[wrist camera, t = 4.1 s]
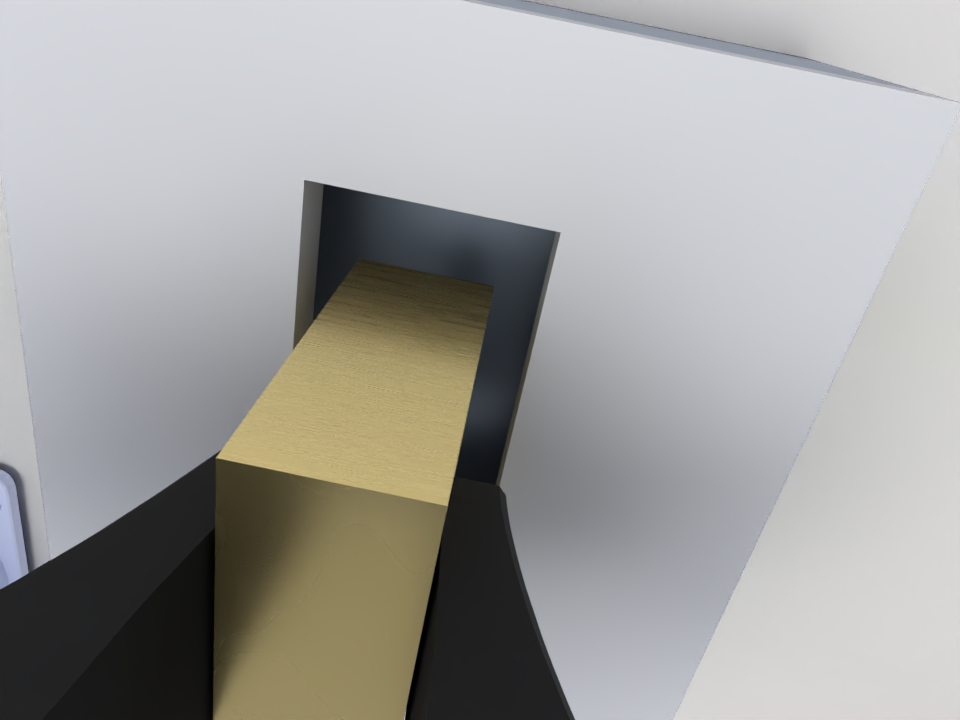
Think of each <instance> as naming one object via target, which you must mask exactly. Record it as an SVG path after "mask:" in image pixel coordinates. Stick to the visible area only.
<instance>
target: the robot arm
mask: <svg viewBox="0 0 960 720" xmlns="http://www.w3.org/2000/svg"><path fill="white" fill-rule="evenodd" d="M220 452H221V450H220V451H219V452H217V453H216V454H214V455H213V456H211V457H210V458H208V459H207V460H206V461H204V462H203V463H201V464H200V465H198V466H197V467H195V468H194V469H192V470H191V471H190V472H188V473H187V474H185V475H184V476H182V477H181V478H179V479H178V480H176V481H175V482H173V483H172V484H170V485H169V486H168V487H166V488H165V489H163V490H162V491H160V492H159V493H157V494H156V495H154V496H153V497H151V498H150V499H148V500H146V501H145V502H143V503H142V504H140V505H139V506H137V507H136V508H134V509H133V510H131V511H129V512H128V513H126V514H125V515H123V516H122V517H120V518H119V519H117V520H116V521H114V522H113V523H111V524H109V525H108V526H106V527H105V528H103V529H102V530H100V531H98V532H97V533H95V534H94V535H92V536H90V537H89V538H87V539H86V540H84V541H82V542H81V543H79V544H77V545H75V546H74V547H72V548H70V549H69V550H67V551H65V552H64V553H62V554H60V555H58V556H57V557H55V558H53V559H52V560H50V561H48V562H47V563H45V564H43V565H42V566H40V567H38V568H36V569H35V570H33V571H31V572H30V573H29V572H28V565H27V559H26V552H25V545H24V539H23V532H22V525H21V519H20V512H19V505H18V499H17V492H16V486H15V483H14V480H13V479H12V477H11V476H10V475H9V474H8V473H6V472H5V471H3V470H0V720H213V686H214V592H215V499H216V457H217V456H218V454H219V453H220ZM405 720H575V718H574V716H573V713H572V711H571V709H570V706H569V704H568V702H567V699H566V697H565V694H564V692H563V689H562V687H561V684H560V682H559V679H558V677H557V674H556V672H555V669H554V667H553V664H552V662H551V659H550V656H549V654H548V651H547V648H546V646H545V643H544V640H543V637H542V635H541V632H540V629H539V626H538V622H537V619H536V616H535V613H534V610H533V607H532V604H531V601H530V598H529V595H528V592H527V589H526V586H525V582H524V579H523V575H522V572H521V568H520V565H519V561H518V557H517V553H516V549H515V545H514V541H513V536H512V532H511V527H510V522H509V516H508V509H507V501H506V495H505V493H504V492H503V490H502V489H501V487H500V486H497V485H492V484H487V483H483V482H478V481H473V480H468V479H463V478H458V477H454V480H453V485H452V490H451V494H450V499H449V504H448V508H447V513H446V518H445V523H444V527H443V532H442V537H441V541H440V546H439V551H438V556H437V561H436V566H435V571H434V575H433V580H432V585H431V590H430V595H429V600H428V605H427V609H426V614H425V619H424V624H423V629H422V634H421V639H420V643H419V648H418V653H417V658H416V663H415V668H414V673H413V677H412V682H411V687H410V692H409V697H408V702H407V707H406V716H405Z"/></svg>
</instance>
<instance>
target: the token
mask: <svg viewBox="0 0 960 720" xmlns="http://www.w3.org/2000/svg"><path fill="white" fill-rule="evenodd" d="M493 289H494V286H491V285H486V284H481V283H476V282H471V281H466V280H462V279H457V278H452V277H447V276H442V275H438V274H433V273H428V272H423V271H418V270H414V269H409V268H404V267H399V266H394V265H389V264H385V263H380V262H375V261H370V260H365V259H361V258H359V259H358V261H357V262H356V263H355V265H354V266H353V268H352V269H351V270H350V272H349V273H348V275H347V276H346V277H345V279H344V280H343V282H342V283H341V284H340V286H339V287H338V289H337V290H336V291H335V293H334V294H333V295H332V297H331V298H330V300H329V301H328V302H327V304H326V305H325V307H324V308H323V309H322V311H321V312H320V314H319V315H318V316H317V318H316V319H315V321H314V322H313V323H312V325H311V326H310V328H309V329H308V330H307V332H306V333H305V335H304V336H303V337H302V339H301V340H300V341H299V343H298V344H297V346H296V347H295V348H294V350H293V351H292V353H291V354H290V355H289V357H288V358H287V360H286V361H285V362H284V364H283V365H282V367H281V368H280V369H279V371H278V372H277V374H276V375H275V376H274V378H273V379H272V381H271V382H270V383H269V385H268V386H267V388H266V389H265V390H264V392H263V393H262V394H261V396H260V397H259V399H258V400H257V401H256V403H255V404H254V406H253V407H252V408H251V410H250V411H249V413H248V414H247V415H246V417H245V418H244V420H243V421H242V422H241V424H240V425H239V427H238V428H237V429H236V431H235V432H234V434H233V435H232V436H231V438H230V439H229V440H228V442H227V443H226V445H225V446H224V447H223V449H222V450H221V452H220V453H219V454H218V456H217V457H216V499H215V592H214V686H213V720H404V717H405V712H406V707H407V702H408V697H409V692H410V687H411V682H412V677H413V673H414V668H415V663H416V658H417V653H418V648H419V643H420V639H421V634H422V629H423V624H424V619H425V614H426V609H427V605H428V600H429V595H430V590H431V585H432V580H433V575H434V571H435V566H436V561H437V556H438V551H439V546H440V541H441V537H442V532H443V527H444V523H445V518H446V513H447V508H448V504H449V499H450V494H451V490H452V485H453V480H454V477H455V473H456V468H457V463H458V459H459V454H460V449H461V444H462V439H463V434H464V430H465V425H466V420H467V415H468V410H469V405H470V401H471V396H472V391H473V386H474V381H475V376H476V372H477V367H478V362H479V357H480V352H481V347H482V343H483V338H484V333H485V328H486V323H487V318H488V314H489V309H490V304H491V299H492V294H493Z"/></svg>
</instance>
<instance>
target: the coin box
mask: <svg viewBox="0 0 960 720" xmlns="http://www.w3.org/2000/svg"><path fill="white" fill-rule="evenodd" d="M959 112H960V102H956V101H953V100H949V99H946V98H942V97H939V96H936V95H932V94H929V93H925V92H922V91H918V90H915V89H911V88H908V87H904V86H901V85H897V84H894V83H891V82H887V81H884V80H880V79H877V78H873V77H870V76H866V75H863V74H859V73H856V72H852V71H849V70H846V69H842V68H839V67H835V66H832V65H828V64H825V63H821V62H818V61H814V60H811V59H807V58H802V57H798V56H793V55H788V54H783V53H778V52H773V51H768V50H763V49H759V48H754V47H749V46H744V45H739V44H734V43H729V42H724V41H720V40H715V39H710V38H705V37H700V36H695V35H690V34H685V33H681V32H676V31H671V30H666V29H661V28H656V27H651V26H646V25H642V24H637V23H632V22H627V21H622V20H617V19H612V18H608V17H603V16H598V15H593V14H588V13H583V12H578V11H573V10H569V9H564V8H559V7H554V6H549V5H544V4H539V3H534V2H530V1H525V0H0V175H1V182H2V190H3V198H4V206H5V213H6V221H7V229H8V236H9V244H10V252H11V260H12V267H13V275H14V283H15V291H16V298H17V306H18V314H19V322H20V329H21V337H22V345H23V352H24V360H25V368H26V376H27V383H28V391H29V399H30V407H31V414H32V422H33V430H34V438H35V445H36V453H37V461H38V469H39V476H40V484H41V492H42V499H43V507H44V515H45V523H46V530H47V538H48V546H49V554H50V560H52V559H53V558H55V557H57V556H58V555H60V554H62V553H64V552H65V551H67V550H69V549H70V548H72V547H74V546H75V545H77V544H79V543H81V542H82V541H84V540H86V539H87V538H89V537H90V536H92V535H94V534H95V533H97V532H98V531H100V530H102V529H103V528H105V527H106V526H108V525H109V524H111V523H113V522H114V521H116V520H117V519H119V518H120V517H122V516H123V515H125V514H126V513H128V512H129V511H131V510H133V509H134V508H136V507H137V506H139V505H140V504H142V503H143V502H145V501H146V500H148V499H150V498H151V497H153V496H154V495H156V494H157V493H159V492H160V491H162V490H163V489H165V488H166V487H168V486H169V485H170V484H172V483H173V482H175V481H176V480H178V479H179V478H181V477H182V476H184V475H185V474H187V473H188V472H190V471H191V470H192V469H194V468H195V467H197V466H198V465H200V464H201V463H203V462H204V461H206V460H207V459H208V458H210V457H211V456H213V455H214V454H216V453H217V452H219V451H220V450H222V449H223V447H224V446H225V445H226V443H227V442H228V440H229V439H230V438H231V436H232V435H233V434H234V432H235V431H236V429H237V428H238V427H239V425H240V424H241V422H242V421H243V420H244V418H245V417H246V415H247V414H248V413H249V411H250V410H251V408H252V407H253V406H254V404H255V403H256V401H257V400H258V399H259V397H260V396H261V394H262V393H263V392H264V390H265V389H266V388H267V386H268V385H269V383H270V382H271V381H272V379H273V378H274V376H275V375H276V374H277V372H278V371H279V369H280V368H281V367H282V365H283V364H284V362H285V361H286V360H287V358H288V357H289V355H290V354H291V353H292V351H293V350H294V348H295V347H296V346H297V344H298V343H299V341H300V340H301V339H302V337H303V336H304V335H305V333H306V332H307V330H308V329H309V328H310V326H311V325H312V323H313V322H314V321H315V319H316V318H317V316H318V315H319V314H320V312H321V311H322V309H323V308H324V307H325V305H326V304H327V302H328V301H329V300H330V298H331V297H332V295H333V294H334V293H335V291H336V290H337V289H338V287H339V286H340V284H341V283H342V282H343V280H344V279H345V277H346V276H347V275H348V273H349V272H350V270H351V269H352V268H353V266H354V265H355V263H356V262H357V261H358V259H359V258H361V259H365V260H370V261H375V262H380V263H385V264H389V265H394V266H399V267H404V268H409V269H414V270H418V271H423V272H428V273H433V274H438V275H442V276H447V277H452V278H457V279H462V280H466V281H471V282H476V283H481V284H486V285H491V286H494V289H493V294H492V299H491V304H490V309H489V314H488V318H487V323H486V328H485V333H484V338H483V343H482V347H481V352H480V357H479V362H478V367H477V372H476V376H475V381H474V386H473V391H472V396H471V401H470V405H469V410H468V415H467V420H466V425H465V430H464V434H463V439H462V444H461V449H460V454H459V459H458V463H457V468H456V473H455V477H458V478H463V479H468V480H473V481H478V482H483V483H487V484H492V485H497V486H500V487H501V489H502V490H503V492H504V493H505V495H506V501H507V509H508V516H509V522H510V527H511V532H512V536H513V541H514V545H515V549H516V553H517V557H518V561H519V565H520V568H521V572H522V575H523V579H524V582H525V586H526V589H527V592H528V595H529V598H530V601H531V604H532V607H533V610H534V613H535V616H536V619H537V622H538V626H539V629H540V632H541V635H542V637H543V640H544V643H545V646H546V648H547V651H548V654H549V656H550V659H551V662H552V664H553V667H554V669H555V672H556V674H557V677H558V679H559V682H560V684H561V687H562V689H563V692H564V694H565V697H566V699H567V702H568V704H569V706H570V709H571V711H572V713H573V716H574V718H575V720H673V718H674V716H675V714H676V712H677V710H678V708H679V706H680V704H681V702H682V699H683V697H684V695H685V693H686V691H687V689H688V687H689V685H690V682H691V680H692V678H693V676H694V674H695V672H696V670H697V668H698V665H699V663H700V661H701V659H702V657H703V655H704V653H705V651H706V648H707V646H708V644H709V642H710V640H711V638H712V636H713V634H714V632H715V629H716V627H717V625H718V623H719V621H720V619H721V617H722V615H723V612H724V610H725V608H726V606H727V604H728V602H729V600H730V598H731V595H732V593H733V591H734V589H735V587H736V585H737V583H738V581H739V579H740V576H741V574H742V572H743V570H744V568H745V566H746V564H747V562H748V559H749V557H750V555H751V553H752V551H753V549H754V547H755V545H756V542H757V540H758V538H759V536H760V534H761V532H762V530H763V528H764V525H765V523H766V521H767V519H768V517H769V515H770V513H771V511H772V509H773V506H774V504H775V502H776V500H777V498H778V496H779V494H780V492H781V489H782V487H783V485H784V483H785V481H786V479H787V477H788V475H789V472H790V470H791V468H792V466H793V464H794V462H795V460H796V458H797V456H798V453H799V451H800V449H801V447H802V445H803V443H804V441H805V439H806V436H807V434H808V432H809V430H810V428H811V426H812V424H813V422H814V419H815V417H816V415H817V413H818V411H819V409H820V407H821V405H822V402H823V400H824V398H825V396H826V394H827V392H828V390H829V388H830V386H831V383H832V381H833V379H834V377H835V375H836V373H837V371H838V369H839V366H840V364H841V362H842V360H843V358H844V356H845V354H846V352H847V349H848V347H849V345H850V343H851V341H852V339H853V337H854V335H855V332H856V330H857V328H858V326H859V324H860V322H861V320H862V318H863V316H864V313H865V311H866V309H867V307H868V305H869V303H870V301H871V299H872V296H873V294H874V292H875V290H876V288H877V286H878V284H879V282H880V279H881V277H882V275H883V273H884V271H885V269H886V267H887V265H888V263H889V260H890V258H891V256H892V254H893V252H894V250H895V248H896V246H897V243H898V241H899V239H900V237H901V235H902V233H903V231H904V229H905V226H906V224H907V222H908V220H909V218H910V216H911V214H912V212H913V209H914V207H915V205H916V203H917V201H918V199H919V197H920V195H921V193H922V190H923V188H924V186H925V184H926V182H927V180H928V178H929V176H930V173H931V171H932V169H933V167H934V165H935V163H936V161H937V159H938V156H939V154H940V152H941V150H942V148H943V146H944V144H945V142H946V140H947V137H948V135H949V133H950V131H951V129H952V127H953V125H954V123H955V120H956V118H957V116H958V114H959Z"/></svg>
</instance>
